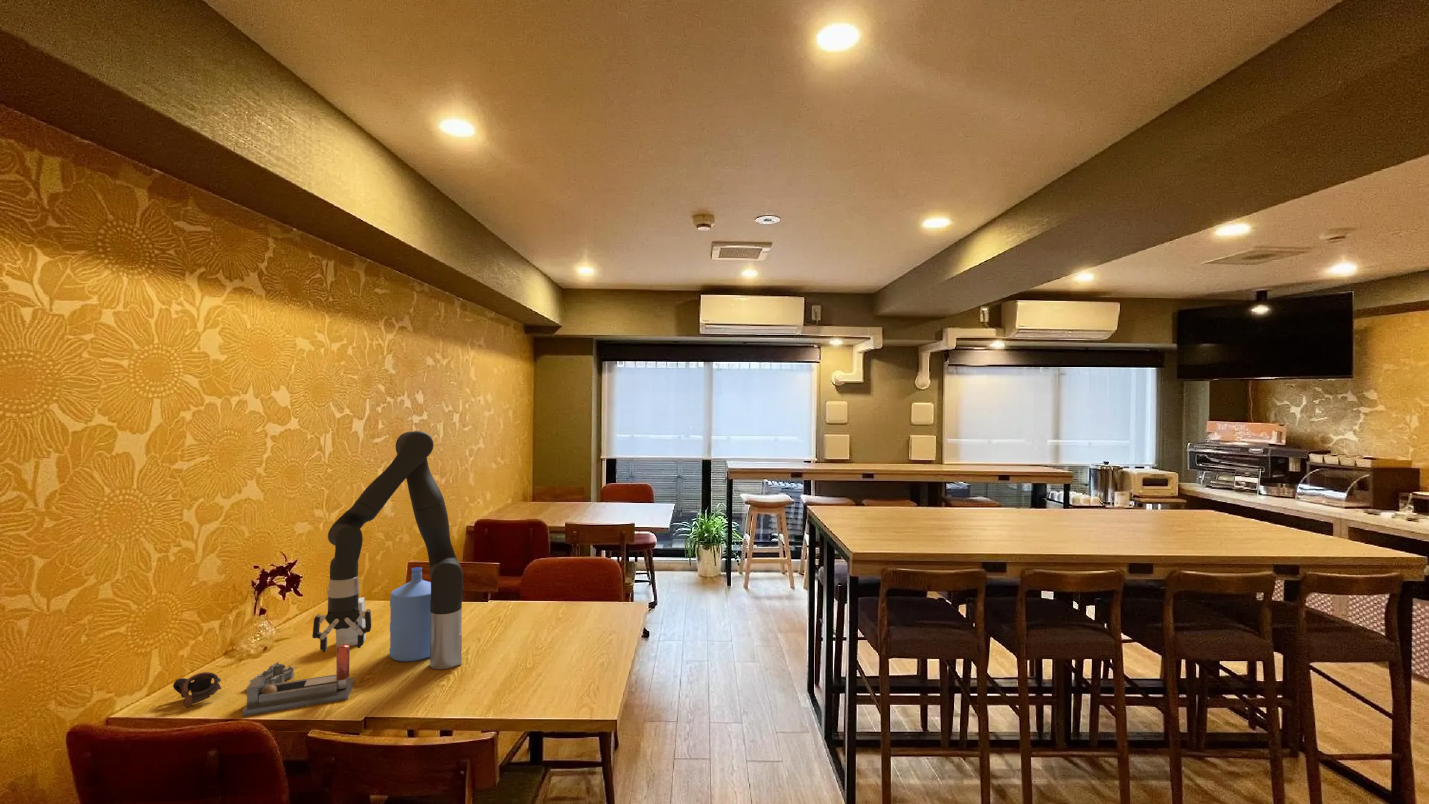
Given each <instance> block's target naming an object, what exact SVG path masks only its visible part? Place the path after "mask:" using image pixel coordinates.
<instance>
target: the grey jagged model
mask: <svg viewBox="0 0 1429 804" xmlns="http://www.w3.org/2000/svg"><path fill="white" fill-rule="evenodd" d="M294 669H297V667H295V666H293V667H292V666H288V667H287V668H286V665H285V664H284V663H280V661H277V662H274V663H273V664H271V665H270V666H269V667H268V669H267V670H263V672H262V673H260V674H258V675H256V676H254V678H259V677H264V687H265V686H266V685H269V684H276V683H283V682H285V681H286V680H289V679H290V680H292V679H293V678H294V677H295V673H294V672H295V671H294ZM252 680H253V678H252V679H250V680H249V683H251V681H252Z"/></svg>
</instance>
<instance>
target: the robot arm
mask: <svg viewBox="0 0 1429 804" xmlns="http://www.w3.org/2000/svg"><path fill="white" fill-rule="evenodd" d="M433 449H434V440H433V438H432V436H431V435H430V434H429V433H427V432H425V431H421V430H415V431H414V430H412V431H407V432H403V433H402V434H400V435H399V436H398V437H397V440H396V442H395V451H396V452H395V453H396V456H395V457H394V459H393V460H392V462H391V463H390V464H389V465H387V466H388V467H386V468H385V470H383V472H381V474H379V475H378V476H377V477H376V478H375V479H374V480H372V482H371V483H370V484H369V485H368V486H367V487H366V488H365V489H364V491H362V493H361V494H360V495H359V497H358V498H357V499H356V501H355V502H354V503H353V505H352V506H350V508H349V509H347V510H346V511H345V512H344V513H343V514H342V515H341V516H340V517H339V518H337V520H336V521H335V522H334V523H333V524H332V525H331V527H330V528H329V530H328V533H327V540H328V542H329V543H330V544H331V545H332V546H334V556H333V558H332V559H331V561H330V565H329V581H328V587H327V589H328V590H327V612H326V613H327V614H323V615H321V614H317V613H316V615H315V616H314V618H313V628H312V639H319V641H320V642H319V644H320V645H319V650H320V651H322V653H326V652H327V650H328V635H329V634H330V633H331V631H332V630H333V629H334V630H335V631H336V630H339V629H342V628H343V629H348V628H349V627H351V628H352V629H353V630H355V631H356V632H357V633H358V643H357V645H356V646H357V649H361V648H362V646H363V645H364V643H365V641H364V634H365V633H366V634H367V633H369V632H371V629H372V611H371V609H370V608H368V609H365V611H362V612H360V611H359V609H358V599H359V598H360V597H359V593H360V583H359V582H360V581H359V559H360V555H361V551H362V547H363V538H364V537H363V531H362V530H361V528H362V527H363V526H364V525H365V524H366V523H367V522H371V521H373V520H374V519H375V518H376V517H377V516H378V514H379V513H380V512H381V510H382V509H383V508H384V506H385V505H387V504H386V503H388V501H389V500H390V499H391V497H392V496H393V495H394V493H396V491H397V490H398V489H399V487H401V485H402V483H403V482H404V481H405V480H406V484H407V489H408V494H409V497H410V502H411V507H412V512H413V515H414V519H415V523H416V526H417V528H418V531H419V533H420V535H421V538H422V540H423V542H424V544H425V548H426V551H427V556H428V557H427V559H428V564H429V576H430V582H431V602H430V657H429V667H430V668H431V669H433V670H447V669H450V668H451V669H452V668H454V667H457V666H461V665H462V659H463V658H462V657H463V655H462V651H463V650H462V649H463V648H462V647H463V646H462V645H463V643H462V642H463V640H462V639H463V637H462V636H463V635H462V634H463V632H462V631H463V630H462V626H463V625H462V619H463V617H462V615H463V614H462V613H463V611H462V608H463V607H462V606H463V596H464V595H463V592H464V573H463V572H464V571H463V567H462V566H461V564H460V562H459V559H458V558H457V555H456V553H455V550H454V547H453V543H452V540H451V535H450V521H449V515H448V511H447V506H446V501H445V500H444V499H445V498H444V496H443V494H442V491H441V489H440V487H439V486H438V484H437V482H436V481H435V479H434V477H433V475H432V473H431V469H430V467H429V466H430V465H429V463H428V457H429V456H430V455H431V454H432V452H433ZM359 616H362V618H363V619H365V628H363V627H362V626H361V625H360V623H359V622H358V621H357V619H358V617H359ZM324 621H326V622H327V623H328V626H327V627H326V628H325V629H324V630H323V632H320V628H321V624H322V623H323V622H324Z"/></svg>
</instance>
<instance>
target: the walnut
mask: <svg viewBox="0 0 1429 804" xmlns="http://www.w3.org/2000/svg"><path fill="white" fill-rule="evenodd" d="M273 692H277V688H276V686H274V685H267V686H265V687H264V688H263V689H262V691H261V694H267V693H273Z"/></svg>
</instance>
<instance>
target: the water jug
mask: <svg viewBox="0 0 1429 804" xmlns="http://www.w3.org/2000/svg"><path fill="white" fill-rule="evenodd" d="M422 571H423V567H419V566H417V567H416V566H415V567H413V568H411V579H410V581H409V582H406V583H404V584H403V585H401V586H399V587H397V588H395V589H393V590H392V591H391V593H390V598H389V607H390V618H389V619H390V623H389V634H390V635H389V640H390V641H389V642H390V643H389V657H390V658H391V659H392V660H394V661H397V662H406V663H407V662H417V661H421V660H425V659H428V658H430V602H431V581H427V580H424V579H423V572H422Z"/></svg>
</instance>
